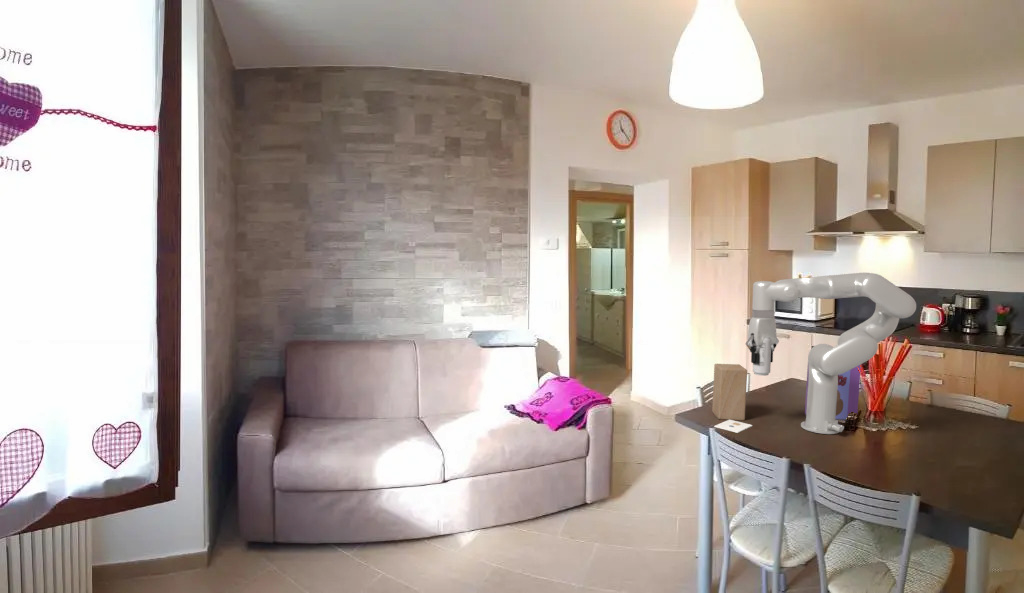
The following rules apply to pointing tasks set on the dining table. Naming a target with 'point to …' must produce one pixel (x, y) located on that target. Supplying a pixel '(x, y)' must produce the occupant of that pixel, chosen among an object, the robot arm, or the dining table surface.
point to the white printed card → (733, 426)
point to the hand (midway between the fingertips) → (761, 362)
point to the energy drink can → (763, 358)
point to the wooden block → (729, 391)
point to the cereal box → (844, 393)
